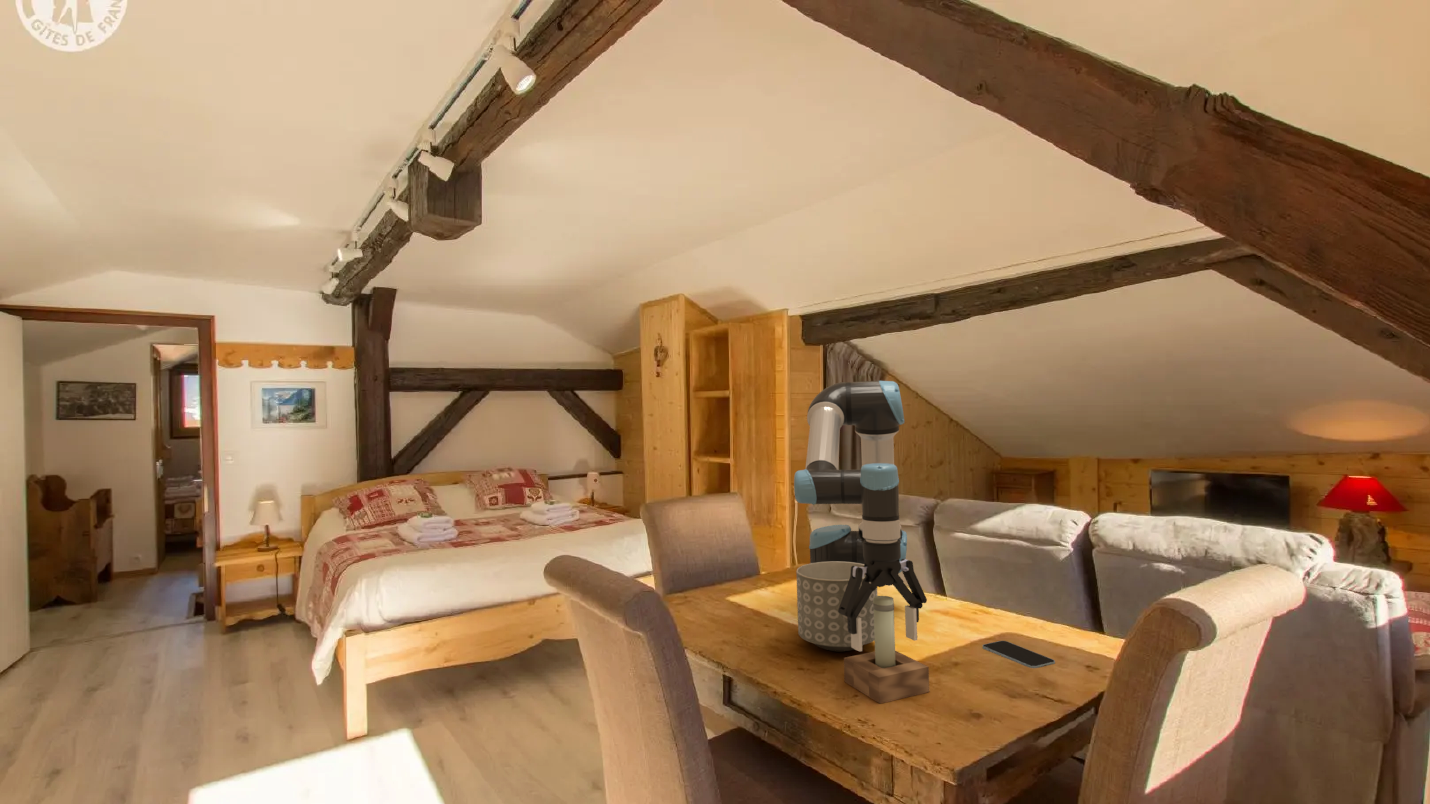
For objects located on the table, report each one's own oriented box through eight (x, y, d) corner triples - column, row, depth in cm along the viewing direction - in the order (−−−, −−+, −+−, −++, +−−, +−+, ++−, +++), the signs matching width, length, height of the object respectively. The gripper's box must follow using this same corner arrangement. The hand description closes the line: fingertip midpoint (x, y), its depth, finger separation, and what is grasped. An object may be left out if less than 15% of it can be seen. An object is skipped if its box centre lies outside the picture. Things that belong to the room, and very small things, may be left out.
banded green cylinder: (888, 681, 144) (885, 594, 144) (900, 688, 140) (897, 599, 141) (871, 685, 142) (868, 597, 143) (884, 692, 139) (881, 602, 139)
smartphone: (1032, 666, 149) (980, 645, 162) (1032, 671, 149) (980, 648, 162) (1057, 660, 151) (1004, 639, 165) (1057, 665, 151) (1004, 643, 165)
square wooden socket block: (891, 671, 149) (890, 648, 149) (929, 691, 138) (928, 666, 138) (844, 681, 145) (843, 657, 145) (879, 703, 134) (878, 677, 134)
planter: (830, 666, 154) (827, 584, 154) (783, 641, 170) (781, 567, 171) (896, 649, 162) (893, 572, 162) (845, 628, 179) (843, 558, 179)
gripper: (918, 530, 150) (921, 629, 150) (819, 542, 140) (822, 648, 140) (942, 536, 143) (945, 639, 143) (839, 549, 133) (843, 659, 133)
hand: (884, 643), depth 142 cm, fingers open, 13 cm apart
